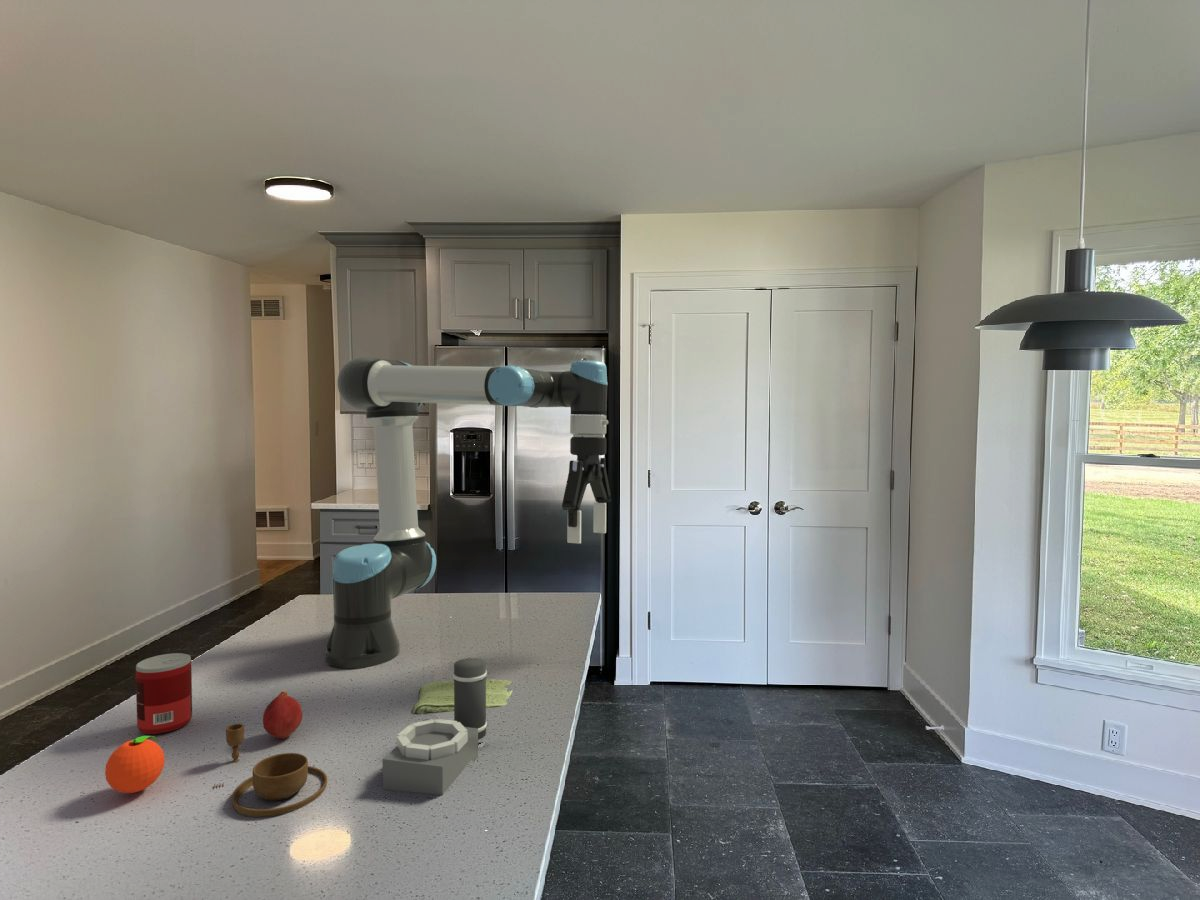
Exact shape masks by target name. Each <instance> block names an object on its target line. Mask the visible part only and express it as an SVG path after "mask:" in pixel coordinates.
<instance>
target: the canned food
mask: <svg viewBox="0 0 1200 900" xmlns="http://www.w3.org/2000/svg"><path fill="white" fill-rule="evenodd" d="M191 657H192V656H191V655H190V654H187V653H181V652H177V653H175V652H174V653H173V652H172V653H166V654H160V655H155V656H152V657H148V658H145V659H143V660H140V661H139V662H137V664H135V698H136V699H135V700H136V701H135V702H136V724H137V725H136V726H137V728H138V731H139V732H140V733H142V734H145V735H156V734H157V735H158V734H165V733H168V732H172V731H176V730H178V729H181V728H183V727H185V726H186V725H188V724H189V723H190V722H191V720H192V717H193V685H192V684H193V681H192V680H193V678H192V675H193V671H192V659H191Z"/></svg>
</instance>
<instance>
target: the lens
mask: <svg viewBox="0 0 1200 900" xmlns="http://www.w3.org/2000/svg"><path fill="white" fill-rule="evenodd" d="M487 673H488V671H487V661H486V660H484V659H482V658H478V657H469V658H467V657H466V658H462V659H458V660H457V661H455V662H454V663H453V673H452V675H453V676H452V677H453V681H454V711H453V712H454V713H453V714H454V717H453V718H454V719H453V721H457V722H460V723H461V724H462V725H463V726H464V727H470V728H478V741H479V740H481V739H483V738H484V737H485V736H486V735H487V708H486V679H487V675H488V674H487ZM483 742H484V741H481V742H478V745H479V744H481V743H483Z"/></svg>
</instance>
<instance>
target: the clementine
mask: <svg viewBox="0 0 1200 900" xmlns="http://www.w3.org/2000/svg"><path fill="white" fill-rule="evenodd" d="M148 738H152V739H153V740H151V739H148ZM165 761H166V760H165V754H164V750H163V748H162V747H161V745H159V744H158V741H157V738H156V736H154V735H142V736H139V737H138V736H137V737H136V738H134V739H130V740H128V741H126V742H124V743H122V744H121V745H119V746H118V747H117V748H116V749H114V751H113V752H112V753H111V755H110V756H109V758H108V759H107V761H106V764H105V770H104V775H105V780H106V782H107V783H108V785H109V786H110V788H112V789H113V790H114V791H116V792H119V793H122V794H123V793H124V794H133V793H137V792H140V791H143V790H146V789H147V788H149V786H151V785H152V784H154V783H155V782H156V781H157V779H158V778H159V777H160V775H161V773H162V771H163V768H164V766H165Z"/></svg>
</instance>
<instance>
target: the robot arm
mask: <svg viewBox="0 0 1200 900" xmlns="http://www.w3.org/2000/svg"><path fill="white" fill-rule="evenodd" d="M607 375H608V374H607V365H606V364H605V363H604V362H603V361H600V360H575V361H572V362H571V363H570V369H569V370H567V371H566V370H564V371H544V370H538V369H532V368H531V369H530V368H526V367H525V368H524V367H521V366H518V365H503V366H470V365H469V366H465V365H463V366H460V365H459V366H458V365H457V366H456V365H455V366H454V365H452V366H451V365H412V364H410V363H408V362H404V361H402V360H396V359H395V360H394V359H384V358H375V357H369V356H363V357H361V356H360V357H357V358H352V359H351V360H349V361H348V362H346V363H345V364H344V365H343V366H342V367H341V369H340V370H339V373H338V376H337V379H336V381H337V382H336V383H337V390H338V393H339V395H340V397H341V398H342V399H343V401H344V402H345V403H347V404H348V405H349V406H351V407H352V408H355V409H357V410H363V411H365V414H366V415H365V417H366V419H365V420H366V421H367V422H369V424H370V425H372V426H373V433H374V434H373V435H374V437H373V438H374V451H375V453H374V454H375V467H376V470H375V471H376V487H377V497H378V498H377V499H378V502H377V503H378V518H379V520H378V521H379V530H378V532H377V533H376V535H375V536H374V537H373V543H363V544H361V545H353V546H351V547H347V548H345V549H343V550H340V551H339V552H338V553H336V556H335V557H334V559H333V566H332V567H333V570H332V586H333V587H332V590H333V593H332V594H333V596H332V597H333V598H332V600H333V626H332V629H331V632H330V635H329V638H328V641H327V644H326V648H325V653H324V654H325V655H324V656H325V658H324V659H325V663H326V664H327V665H329V666H331V667H335V668H338V669H339V668H340V669H366V668H371V667H376V666H380V665H382V664H385V663H387V662H390V661H392V660H394V659H396V657H398V656H399V655H400V652H401V648H400V640H399V638H398V634H397V632H396V630H395V629H396V628H395V626H394V623H393V620H392V600H393V599H396V598H398V597H400V596H403V595H405V594H411V593H413V592H416V591H417V590H419V589H420V588H422V587H424V586H426V585H427V584H428V583H429V582H430V581H431V580H432V579H433V576H434V575H435V572H436V567H437V555H436V553H435V549H434V548H432V547H431V544H430V543H428V542H427V541H426V533H425V531H423V530H422V529H421V528H420V527H419V520H418V518H419V516H418V502H417V501H418V500H417V486H416V485H417V484H416V469H415V468H416V465H415V451H414V450H415V448H414V447H415V445H414V432H413V431H414V430H413V428H414V427H413V425H414V423H415V422H416V421H418V419H419V417H420V416H419V408H420V407H421V406H422V404H423V403H424V404H450V405H451V404H452V405H453V404H455V405H457V404H458V405H459V404H460V405H482V406H483V405H484V406H485V405H487V406H506V407H524V408H525V407H526V408H536V409H537V408H570V414H569V415H570V417H569V419H570V422H569V423H570V426H569V427H570V428H569V433H570V434H571V435H572V436H571V437H570V438H569V439H570V440H569V441H570V442H569V443H570V445H569V446H570V447H569V452H570V454H571V455H572V456H576V457H577V458H576V460H569V465H568V466H569V467H568V475H567V479H566V480H567V481H566V483H565V484H566V485H565V488H564V494H563V498H562V503H561V508H562V511H567V519H566V520H567V521H566V522H567V523H566V524H567V525H566V526H567V530H566V532H567V533H566V535H567V537H566V540H567V542H566V543H568V544H569V543H570V544H582V510H580V508H581V505H582V502H583V499H584V496H585V493H586V489H587V487H588V485H589V486H590V489H591V492H592V493H593V497H594V501H595V502H593V521H592V522H593V523H592V524H593V527H592V529H593V533H594V534H595V533H596V534H606V533H607V503H611V501H612V498H611V496H612V495H611V489H610V484H609V479H608V473H607V466H606V465H607V464H606V457H600V456H604V455H606V454H607V438H606V437H604V435H606V434H607V425H609V420H608V419H607V414H608V413H607V408H608V404H607V401H608V384H609V383H608V376H607Z"/></svg>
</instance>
